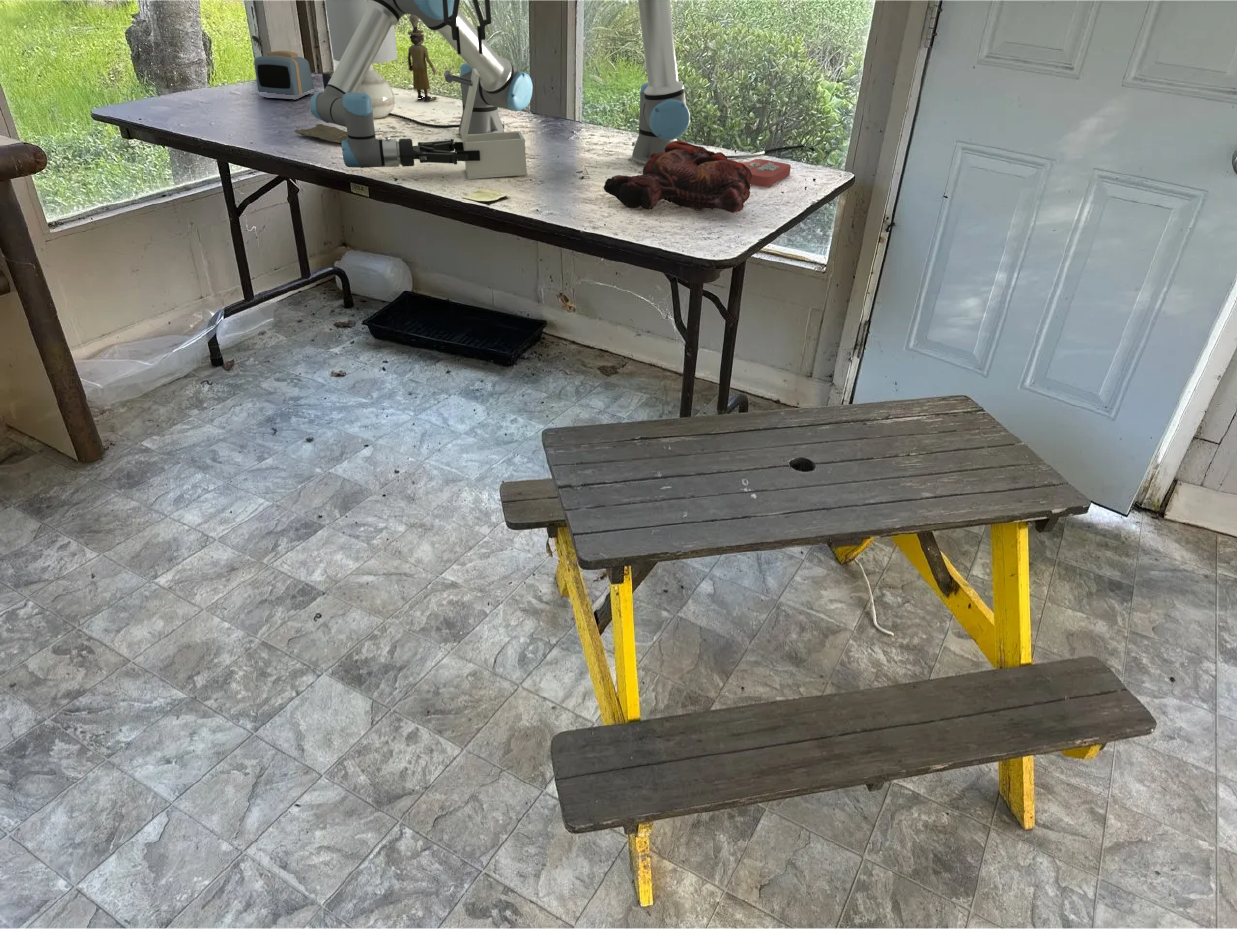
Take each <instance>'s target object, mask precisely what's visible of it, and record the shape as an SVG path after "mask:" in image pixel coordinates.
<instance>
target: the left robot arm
mask: <svg viewBox="0 0 1237 929" xmlns="http://www.w3.org/2000/svg"><path fill="white" fill-rule="evenodd" d="M447 2H448V17H449V20H451V18H452V12H453V6H454V0H447ZM366 5H367V10H366V12H365V14H364V16H363V18H362V20H361V22H360V24H359V25H358V27H357V29H356V31H355V33H354V35H353V37H352V39H351V41H350V43H349V45H348V46H347V48H346V50H345V52H344V54H343V56H342V58H341V60H340V61H338V64H337V65H336V67H335V70H334V71H333V75H332V77H331V79H330V81H329V83H328V84H327V87H326V88H325V90H324V89H323V91H321V92H320V91H318V92H316V93H315V94H313V95H312V96H311V98H310V101H309V108H310V112H311V114H312V115H313V117H314V118H315V119H317V120H320V121H322V122H325V123H327V124H333V125H337V126H341V127H344V128H346V132H347V134H348V139H346V140H343V141H342V143H341V152H342V160H343V164H344V165H345V167H347V168H357V169H358V168H360V169H366V168H368V169H369V168H399V167H400V166H401V167H414V166H415V160H419V163H421V164H424V163H426V164H427V163H432V164H452V165H454V166H455V165H458V162H465V161H480V150H469V151H464V148H463V141H455V140H454V138H450V139H448V140H436V141H435V140H434V141H418V142H417V144H416V145H413V139H412V138H399V139H398V140H397V139H396V138H389V137H388V136H386V137H385V138H376V131H375V130H376V129H375V121H374V120H375V119H373V108H372V105H371V99H370V96H369V95H368V94H366V93H359V92H357V90H358V88H359V86H360V85H361V83H362V81H363V79H364V77H365V75H366V73H367V71H368V69H369V68H370V66H371V64H372V65H373V63H372V62H373V60H374V58H375V56H376V54H377V52H378V51H379V49H380V47H381V45H382V43H383V41H384V39H385V37H386V35H387V34H388V32H389V30H390V28H391V26H393V25H394V26H396V25H398V22H399V21H400V20H401V18H402V17H403V16H404V15H409V16H410V15H416V16H417V17H418V18H419V20H420V21H421V22H422V23H423V24H424V25H425V26H426V27H427V29H428V30H430V31H434V32H438V33H439V34H440V35H441V37H443V39H445V41H446V42H447V43H448V44H449V45H450V46H451V47H452V48H453V50H454V51H455V52H456V53H457V40H453V39H452V31H451V26H449V25H446V24H445V23H444V17H443V3H442V0H367V2H366ZM456 26H458V27H459V36H460V48H461V54H458V56H460V57H461V58H462V60H463V61H464V63H462V64H461V65H460V68H459V73H460V75H459V77H462V78H465V79H469V80H471V75H472V70H473V68H475V69H477V71H478V73H479V75H480V76H479V80H478V85H477V90H476V95H475V100H474V105H473V110H472V115H471V119H470V124H469V129H468V134H467V135H469V134H485V133H500V132H505V124H504V123H503V122H502V119H501V117H500V114H499V108H500V109H501V108H502V109H506V110H509V111H511V112H520V111H523V110H525V109H526V108H527V107H528V105H529V104H530V102H531V99H532V97H533V88H534V87H533V81H532V78H531V77H530V75H529V74H528V73H527V72H524V71H519V70H517V68H515V66H514V65H513V64H512V63H511V61H510V60H509V59H508V58H505V57H502V58H499V55H498V54H497V52H496V51H495V50H494V49H493V47H491V46H490V44H489V43H488V42H487V41H486V39H485V40H482V53H483V54H480V53H479V46H478V32H477V28H475V26H474V25H473V24H472V23H471V21H469V20H468V18H467V17H466V15H464V13H463V12H462V11H461V10H460V9H458V15H457V21H456ZM468 90H469V85H465V84H462V83H460V91H461V105H462V113H461V118H460V121H459V124H446V125H445V124H433V123H426V122H422V121H418V120H416V119H413V118H410V117H407V116H404V115H400V114H396V113H392V112H390V113H389V114H388V115H387V116H390V117H394V118H398V119H401V120H405V121H408V122H411V123H414V124H417V125H419V126H423V127H428V128H429V127H430V128H435V129H453V128H454V129H455V128H458V136H459V137H460V138H462V137H461V134H460V130H461V125H462V120H463V115H464V110H465V105H466V100H467V95H468Z"/></svg>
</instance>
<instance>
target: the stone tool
mask: <svg viewBox="0 0 1237 929" xmlns="http://www.w3.org/2000/svg"><path fill="white" fill-rule="evenodd" d="M294 133H296V134H298V135H300V136H306V137H309V138H317V139H320V140H321V141H327V142H332V143H338V144H342V141H343V140H346V139H348V134H347V130H343V129H339V128H338V127H336V126H329V125H326V124H323V123H317V124H315V126H314V127H310V128H307V129H306V128H305V129H303V128H301V129H295V130H294Z"/></svg>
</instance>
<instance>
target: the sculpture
mask: <svg viewBox="0 0 1237 929" xmlns="http://www.w3.org/2000/svg"><path fill="white" fill-rule="evenodd" d="M726 156H727V155H726V154H724V153H723V152H720V151H719V152H717V151H716V152H714V151H711V150H708V149H706V148H705V147H704V146H702V145H695V144H692V143H689V142H686V141H684V140H680V139H677V141H673V142H671V143H669V144H668V145H667V146H666V147H665V153H664V152H660V153H658V152H657V153H653V154H652V155H651V157H650V158H651V159H650V160H648V162H647V163H646V165H645V166H643V168H642V174H638V175H621V174H617V175H613V176H612V177H608V178H607V179H606V180H605V181H604V184H603V185H604V186H603V190H604V192H605V193H606V194H608V195H609V196H610V195H611V196H613V197H615V198H616V199H617V200H618V201H619V202H620V203H621V204H622V205H623V206H625V207H626V208H628V209H636V208H637V209H638V208H641V209H643V210H647V211H649V210H654V208H655V207H657V205H658V203H659V202H660V201H665V202H668V203H669V204H671V203H672V204H674V205H675V206H678V207H681V208H689V209H692V210H696V211H704V209H707V210H715V209H717V210H721V211H725V212H728V213H732V214H734V213H740V212H741V211H743V210H744V207H745V205H744V204H745V203H746V202H747V201H748V200H749V198H750V196H751V190H750V189H751V184H750V180H751V178H752V173H751V171H750V169H749V168H747V167H746V166H745V165H744V164H742V163H740V162H741V161H737V160H733V159H731V158H726Z"/></svg>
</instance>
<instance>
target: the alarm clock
mask: <svg viewBox="0 0 1237 929" xmlns="http://www.w3.org/2000/svg"><path fill="white" fill-rule="evenodd" d="M253 65H254V72H255V77H256V78H255V79H256V86H257V92H258V91H259V92H267V93H276V94H285V95H299V94H302V93H304V92H307V91H309V90H311V89H314V90H315V85H314V81H313V76H312V72H311V67H310V62H309V60H307V59H306V58H305V57H302V56H299V55H298V53H296V52H293V51H289V50H275V51H269V52H266V55H261V56H257V57H256V58H254V60H253Z"/></svg>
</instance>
